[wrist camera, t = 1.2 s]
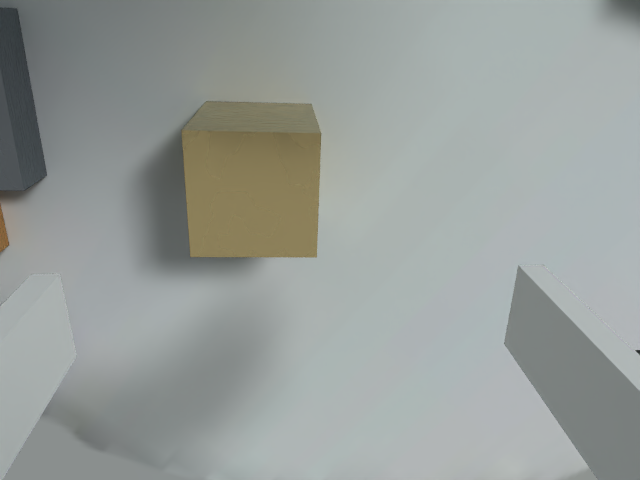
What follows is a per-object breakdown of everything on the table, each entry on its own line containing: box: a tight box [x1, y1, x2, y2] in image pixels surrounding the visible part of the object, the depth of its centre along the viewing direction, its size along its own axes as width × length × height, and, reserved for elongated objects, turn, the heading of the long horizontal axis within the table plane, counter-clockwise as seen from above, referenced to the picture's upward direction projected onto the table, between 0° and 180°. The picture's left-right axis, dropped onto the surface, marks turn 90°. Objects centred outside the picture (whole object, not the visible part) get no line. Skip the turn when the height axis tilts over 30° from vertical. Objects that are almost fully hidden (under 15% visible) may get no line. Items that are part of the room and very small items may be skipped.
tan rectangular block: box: [181, 101, 321, 257], centre depth 27 cm, size 6×6×8 cm
